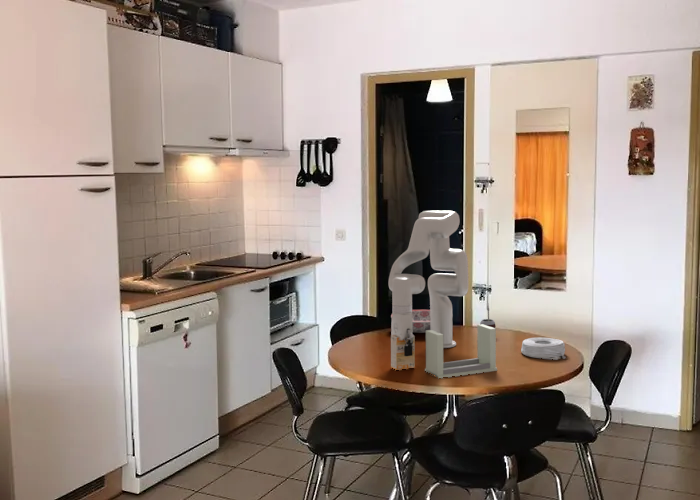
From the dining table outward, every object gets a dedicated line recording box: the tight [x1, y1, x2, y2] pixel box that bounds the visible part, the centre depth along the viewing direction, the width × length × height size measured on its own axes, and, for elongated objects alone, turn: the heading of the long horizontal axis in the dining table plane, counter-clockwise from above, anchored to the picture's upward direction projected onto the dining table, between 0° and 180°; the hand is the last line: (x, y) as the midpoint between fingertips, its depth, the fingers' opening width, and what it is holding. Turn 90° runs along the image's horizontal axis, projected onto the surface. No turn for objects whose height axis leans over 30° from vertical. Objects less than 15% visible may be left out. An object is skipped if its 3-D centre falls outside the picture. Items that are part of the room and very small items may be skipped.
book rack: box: [424, 323, 498, 379], centre depth 274 cm, size 11×25×16 cm, turn 112°
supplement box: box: [390, 335, 416, 371], centre depth 279 cm, size 8×5×13 cm, turn 114°
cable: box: [520, 337, 566, 361], centre depth 297 cm, size 18×18×6 cm
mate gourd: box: [479, 302, 497, 328], centre depth 330 cm, size 8×8×15 cm
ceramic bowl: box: [390, 309, 454, 334], centre depth 344 cm, size 29×29×8 cm
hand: (402, 353), depth 279 cm, fingers open, 9 cm apart
